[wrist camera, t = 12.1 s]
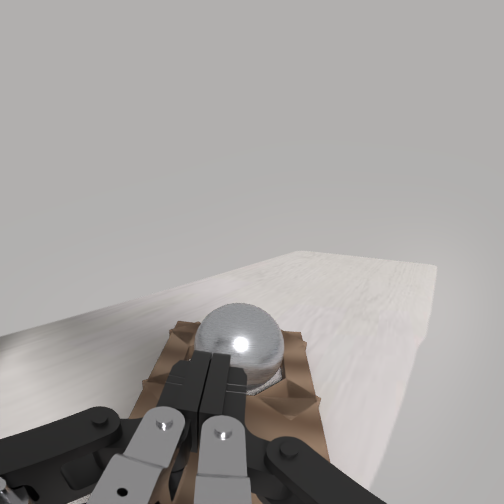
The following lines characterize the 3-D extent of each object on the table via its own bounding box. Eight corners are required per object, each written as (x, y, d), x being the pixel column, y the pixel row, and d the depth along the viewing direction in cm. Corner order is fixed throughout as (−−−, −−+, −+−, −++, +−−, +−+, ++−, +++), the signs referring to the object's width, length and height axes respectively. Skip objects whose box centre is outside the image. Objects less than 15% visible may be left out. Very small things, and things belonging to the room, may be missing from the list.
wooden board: (347, 565, 12) (356, 558, 11) (80, 535, 12) (71, 525, 11) (301, 342, 45) (303, 330, 45) (175, 330, 45) (175, 318, 45)
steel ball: (186, 295, 36) (180, 375, 35) (219, 306, 27) (210, 409, 26) (259, 301, 41) (252, 373, 40) (307, 310, 32) (296, 398, 31)
